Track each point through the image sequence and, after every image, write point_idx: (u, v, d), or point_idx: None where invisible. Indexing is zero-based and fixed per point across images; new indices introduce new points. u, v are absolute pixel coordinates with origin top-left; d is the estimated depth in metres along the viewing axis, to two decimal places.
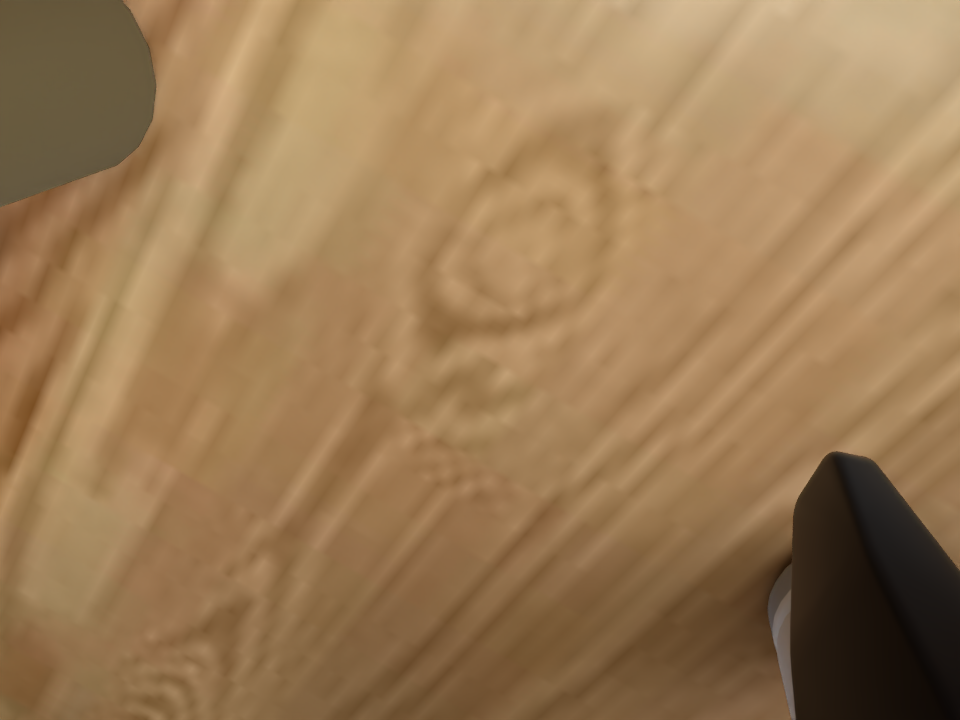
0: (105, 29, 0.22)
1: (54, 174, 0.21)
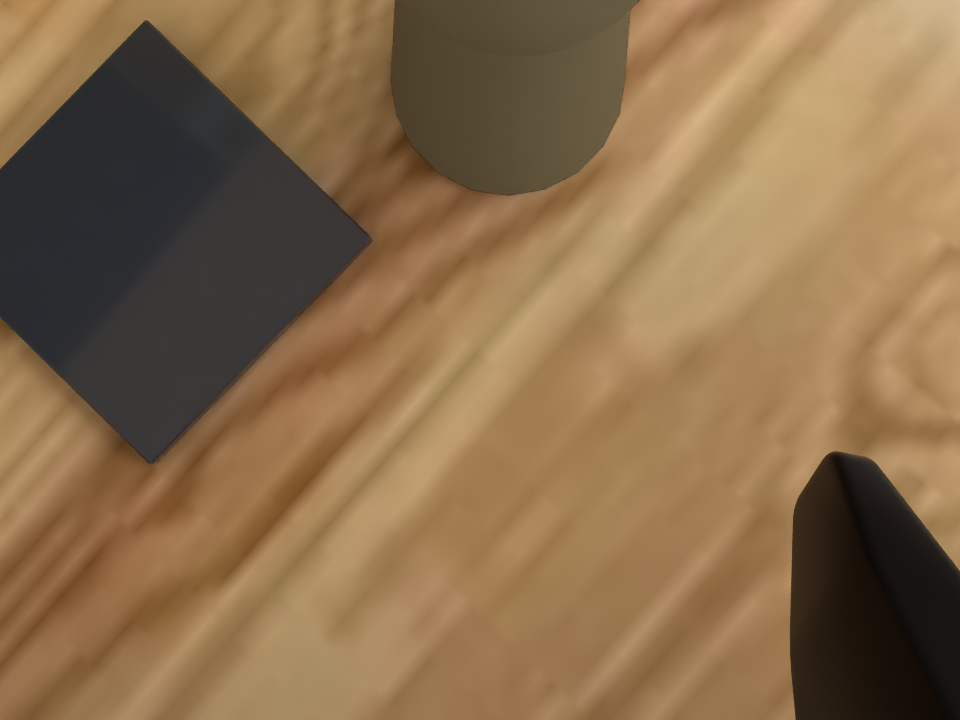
0: None
1: (584, 112, 0.19)
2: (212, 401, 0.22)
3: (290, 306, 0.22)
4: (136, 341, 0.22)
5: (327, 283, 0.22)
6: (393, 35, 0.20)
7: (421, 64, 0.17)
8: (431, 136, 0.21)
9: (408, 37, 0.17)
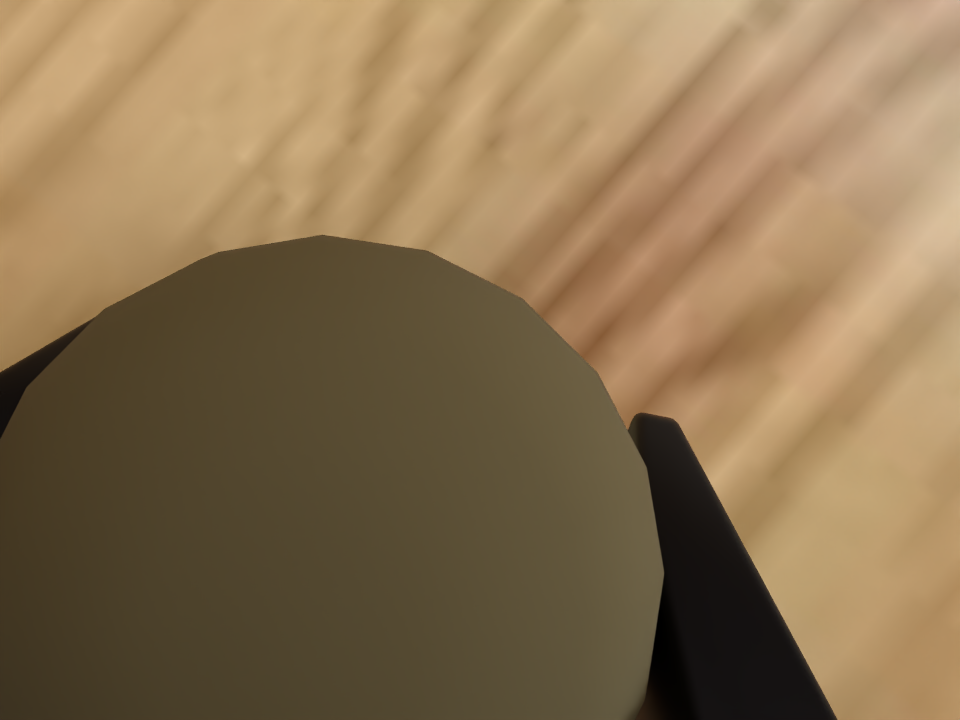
0: None
1: None
2: None
3: None
4: None
5: None
6: None
7: None
8: None
9: None
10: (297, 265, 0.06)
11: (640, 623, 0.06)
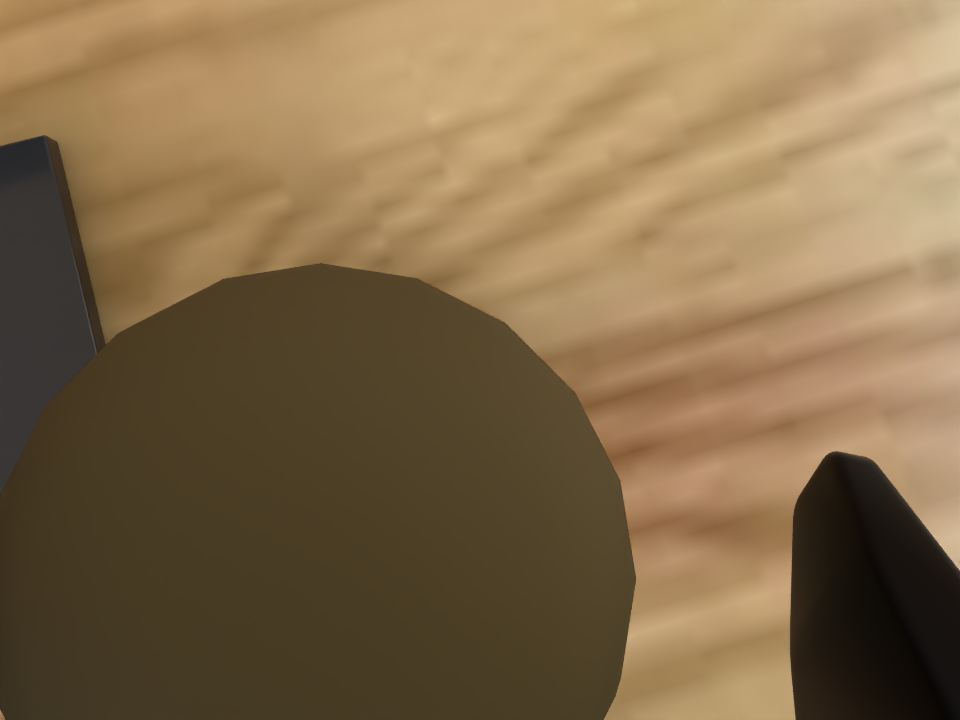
0: None
1: None
2: None
3: None
4: None
5: None
6: None
7: None
8: None
9: None
10: (296, 295, 0.06)
11: (609, 624, 0.06)
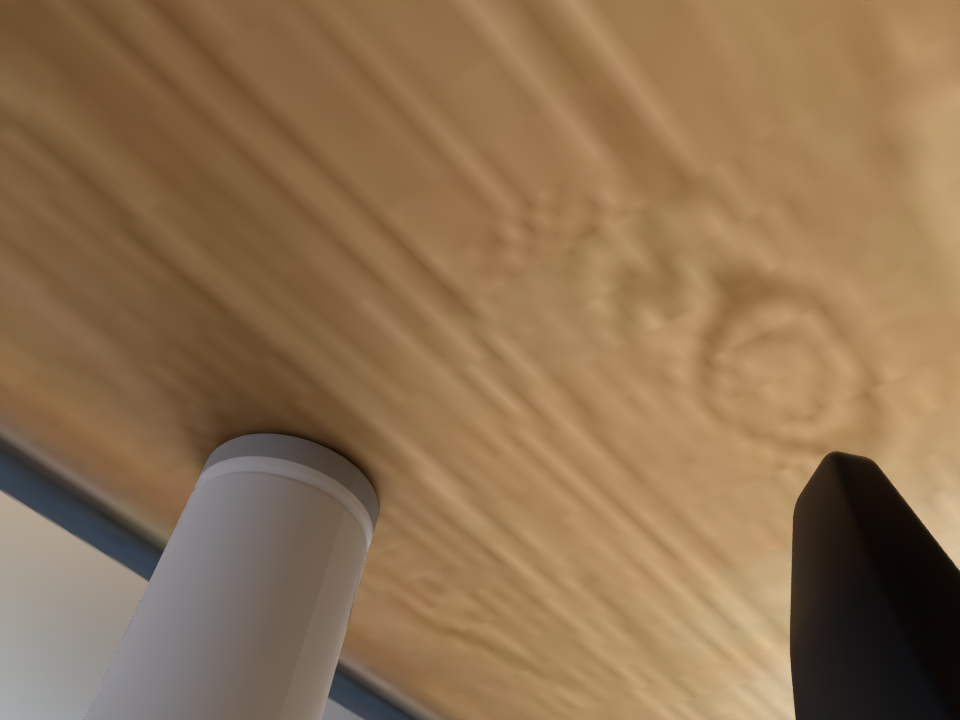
0: None
1: None
2: None
3: None
4: None
5: None
6: None
7: None
8: None
9: None
10: None
11: None
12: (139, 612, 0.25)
